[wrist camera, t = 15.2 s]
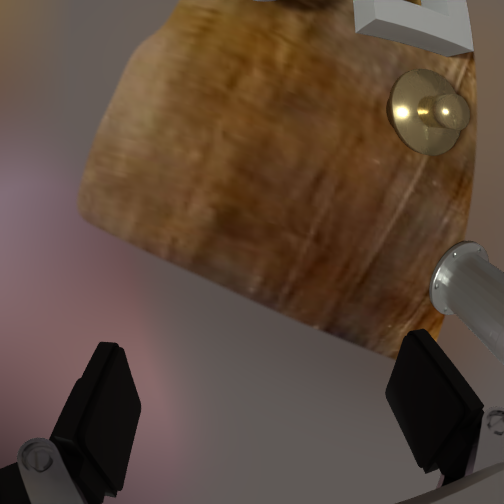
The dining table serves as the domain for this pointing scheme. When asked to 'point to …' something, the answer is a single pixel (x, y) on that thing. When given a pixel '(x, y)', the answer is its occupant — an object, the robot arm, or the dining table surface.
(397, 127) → the end cover
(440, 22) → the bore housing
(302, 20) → the dining table surface
